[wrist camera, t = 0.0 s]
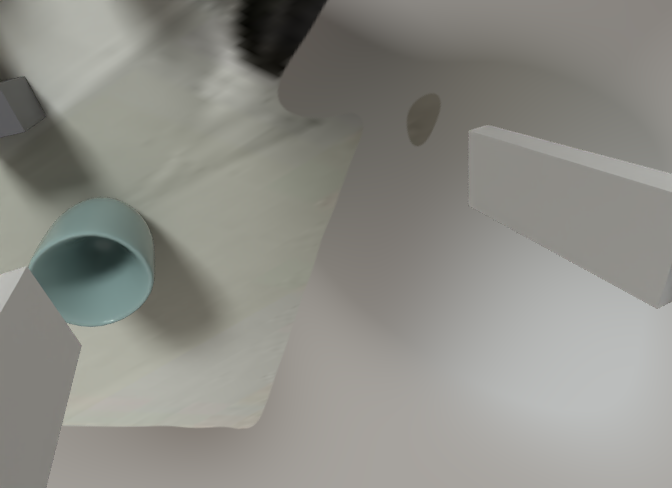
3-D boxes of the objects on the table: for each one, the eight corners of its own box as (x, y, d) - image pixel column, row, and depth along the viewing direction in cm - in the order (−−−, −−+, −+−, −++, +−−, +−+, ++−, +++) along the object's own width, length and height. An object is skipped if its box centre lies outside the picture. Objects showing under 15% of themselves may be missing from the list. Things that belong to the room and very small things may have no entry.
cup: (104, 279, 39) (90, 345, 30) (34, 221, 34) (-6, 279, 26) (172, 232, 39) (175, 285, 31) (110, 169, 35) (96, 210, 26)
